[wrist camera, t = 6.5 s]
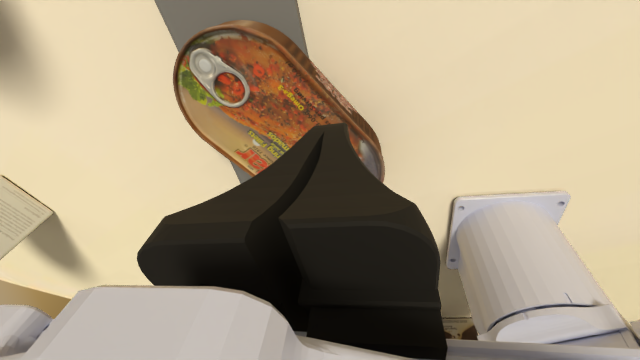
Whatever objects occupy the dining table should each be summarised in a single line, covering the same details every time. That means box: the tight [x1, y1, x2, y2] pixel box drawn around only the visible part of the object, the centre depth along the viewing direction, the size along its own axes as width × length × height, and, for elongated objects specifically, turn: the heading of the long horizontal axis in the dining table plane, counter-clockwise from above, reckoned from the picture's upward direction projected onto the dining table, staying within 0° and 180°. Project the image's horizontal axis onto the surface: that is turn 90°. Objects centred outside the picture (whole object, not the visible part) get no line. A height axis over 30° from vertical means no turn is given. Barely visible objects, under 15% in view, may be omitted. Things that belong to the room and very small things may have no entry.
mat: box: [155, 0, 309, 184], centre depth 19 cm, size 17×8×1 cm, turn 11°
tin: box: [173, 20, 385, 183], centre depth 19 cm, size 15×3×8 cm
